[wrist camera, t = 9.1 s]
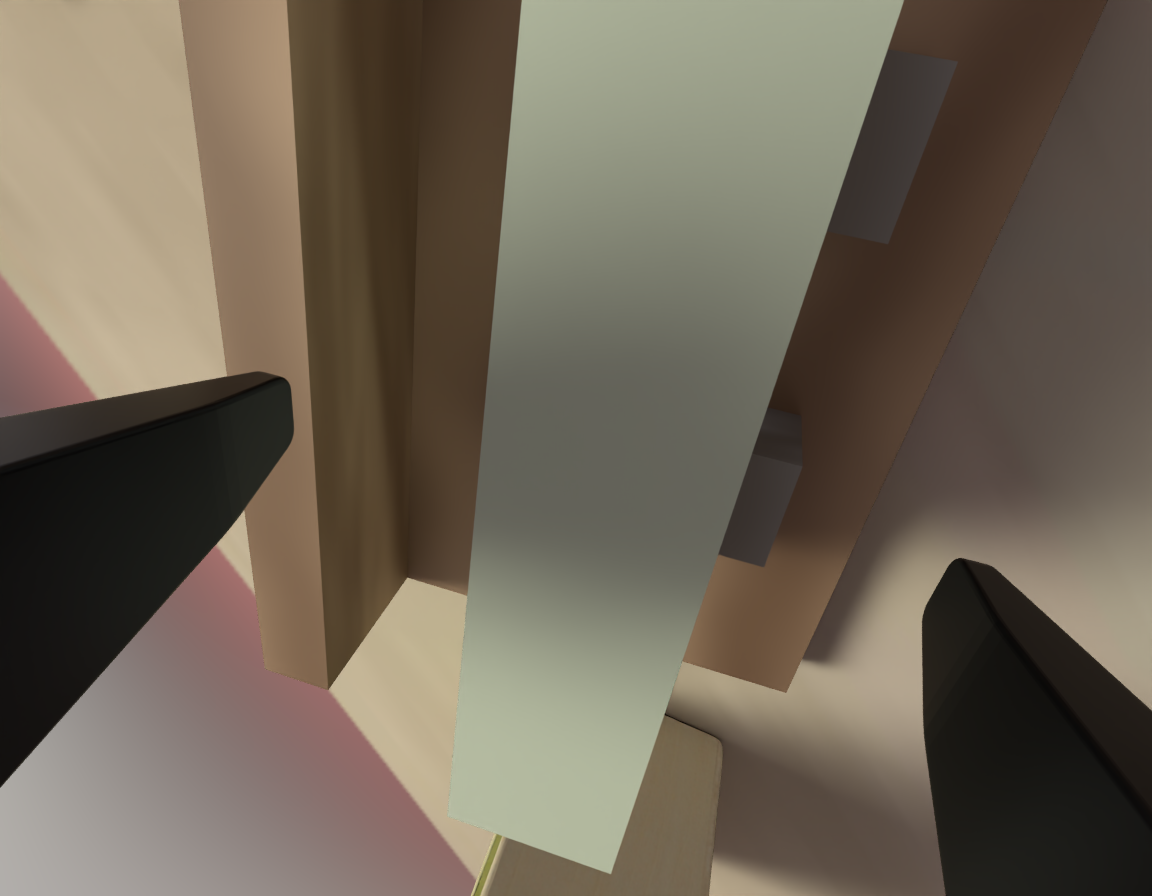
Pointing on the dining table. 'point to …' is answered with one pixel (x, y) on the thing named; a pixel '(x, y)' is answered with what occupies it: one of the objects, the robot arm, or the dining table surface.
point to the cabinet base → (468, 281)
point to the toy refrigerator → (633, 833)
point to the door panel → (634, 370)
